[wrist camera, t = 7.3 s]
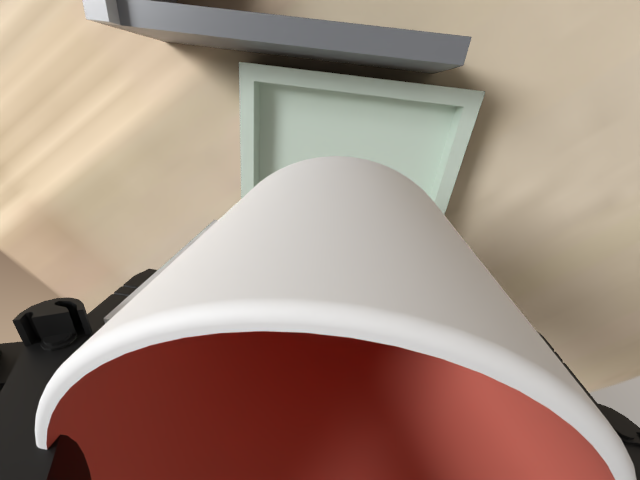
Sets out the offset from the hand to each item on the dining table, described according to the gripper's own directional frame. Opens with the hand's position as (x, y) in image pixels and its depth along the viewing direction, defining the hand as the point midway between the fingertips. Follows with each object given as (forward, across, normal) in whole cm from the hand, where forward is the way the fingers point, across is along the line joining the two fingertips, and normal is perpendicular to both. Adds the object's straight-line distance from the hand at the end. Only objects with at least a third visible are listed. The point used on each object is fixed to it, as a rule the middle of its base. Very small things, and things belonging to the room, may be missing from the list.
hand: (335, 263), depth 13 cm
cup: (+1, 0, 0) cm, 1 cm away
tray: (+12, 0, 0) cm, 12 cm away
